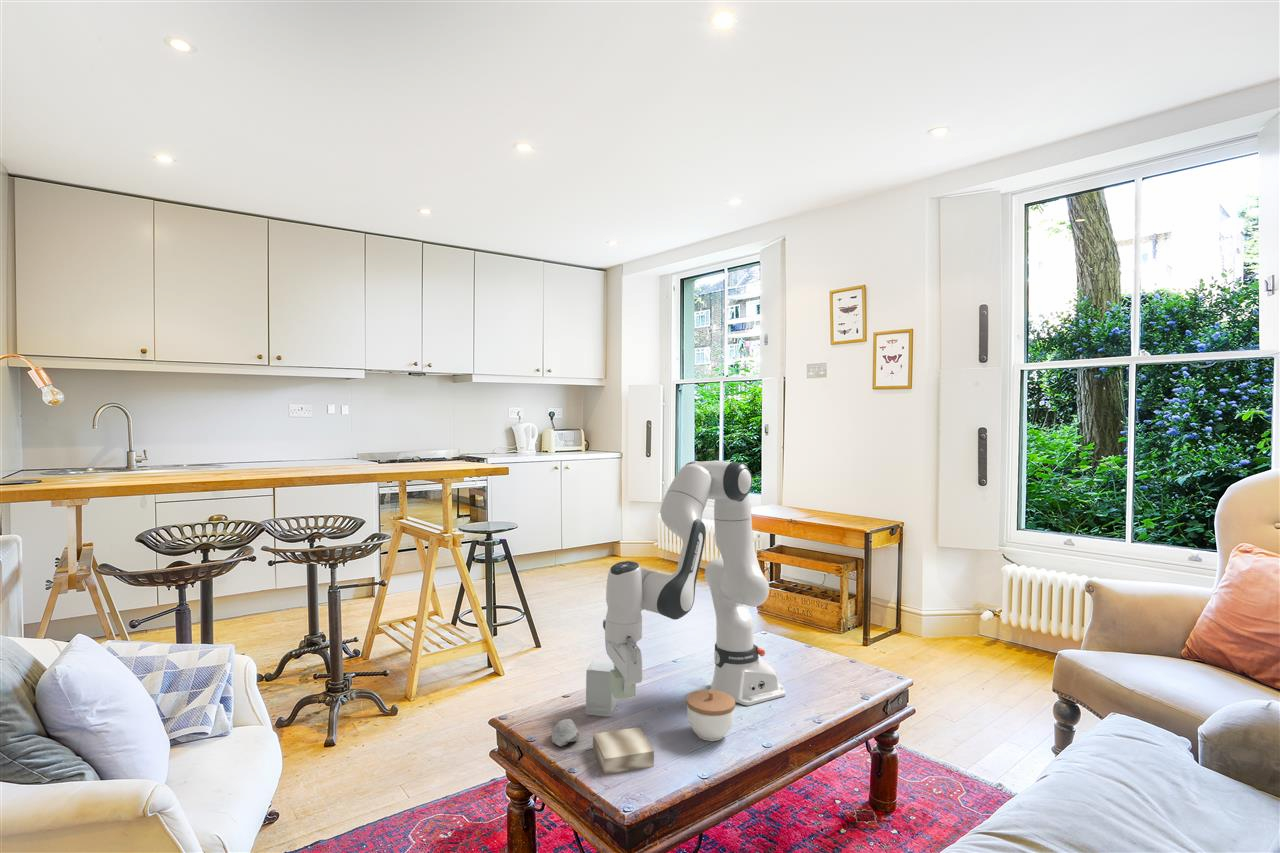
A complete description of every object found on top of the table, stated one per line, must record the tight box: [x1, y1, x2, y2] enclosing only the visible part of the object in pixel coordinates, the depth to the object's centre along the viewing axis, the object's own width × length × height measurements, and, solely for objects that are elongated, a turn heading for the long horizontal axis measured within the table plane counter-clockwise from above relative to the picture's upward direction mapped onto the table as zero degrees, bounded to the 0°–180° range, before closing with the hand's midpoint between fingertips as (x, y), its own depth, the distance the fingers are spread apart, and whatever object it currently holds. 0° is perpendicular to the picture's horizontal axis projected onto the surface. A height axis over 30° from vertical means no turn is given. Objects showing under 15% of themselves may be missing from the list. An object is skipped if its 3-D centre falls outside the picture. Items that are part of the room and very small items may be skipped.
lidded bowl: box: [686, 689, 736, 742], centre depth 167 cm, size 13×13×11 cm
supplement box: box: [585, 660, 618, 718], centre depth 180 cm, size 7×7×13 cm
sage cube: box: [610, 669, 637, 700], centre depth 155 cm, size 5×5×5 cm
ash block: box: [592, 726, 655, 775], centre depth 156 cm, size 12×12×4 cm
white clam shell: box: [551, 718, 580, 747], centre depth 163 cm, size 9×8×5 cm
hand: (623, 686), depth 156 cm, fingers closed on sage cube, 5 cm apart
